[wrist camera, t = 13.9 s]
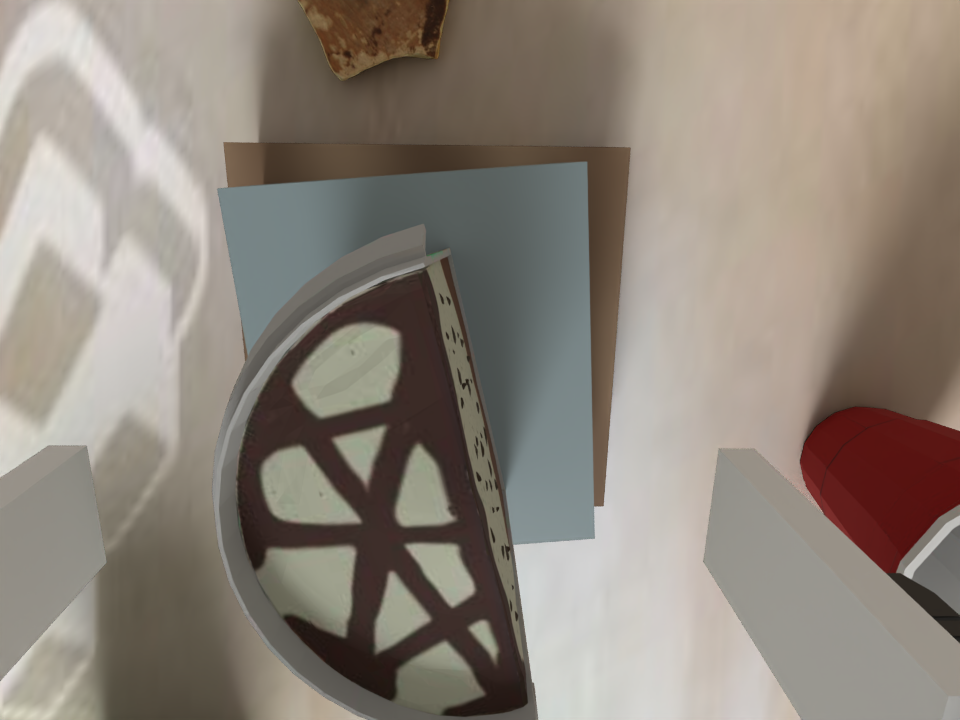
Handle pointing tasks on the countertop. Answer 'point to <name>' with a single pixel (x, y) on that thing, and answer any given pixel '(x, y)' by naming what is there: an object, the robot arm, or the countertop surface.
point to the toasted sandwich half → (375, 31)
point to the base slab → (370, 160)
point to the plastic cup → (892, 492)
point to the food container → (375, 496)
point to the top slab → (463, 301)
